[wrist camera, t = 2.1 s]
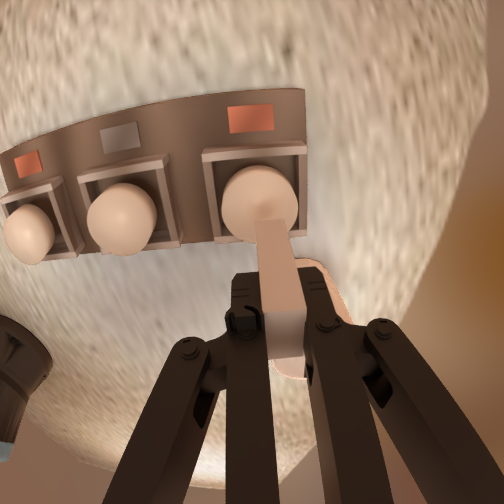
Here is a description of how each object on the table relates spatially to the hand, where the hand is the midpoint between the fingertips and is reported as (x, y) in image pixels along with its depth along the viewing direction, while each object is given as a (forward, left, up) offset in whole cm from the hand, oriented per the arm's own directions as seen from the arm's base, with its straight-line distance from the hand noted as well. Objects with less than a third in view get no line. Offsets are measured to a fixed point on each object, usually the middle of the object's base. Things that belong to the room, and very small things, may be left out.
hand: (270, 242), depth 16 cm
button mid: (-10, 0, -6) cm, 12 cm away
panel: (-10, +1, -11) cm, 15 cm away
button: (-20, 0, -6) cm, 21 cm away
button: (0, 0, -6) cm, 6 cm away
